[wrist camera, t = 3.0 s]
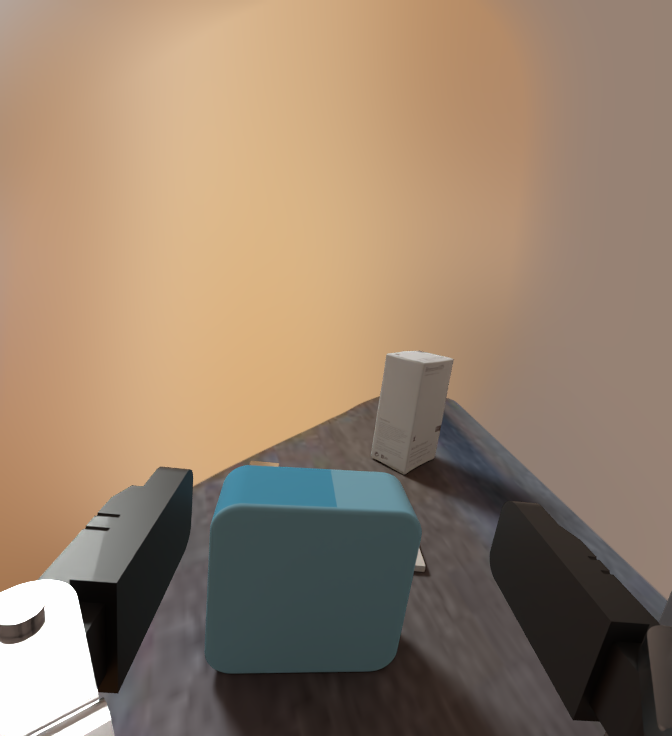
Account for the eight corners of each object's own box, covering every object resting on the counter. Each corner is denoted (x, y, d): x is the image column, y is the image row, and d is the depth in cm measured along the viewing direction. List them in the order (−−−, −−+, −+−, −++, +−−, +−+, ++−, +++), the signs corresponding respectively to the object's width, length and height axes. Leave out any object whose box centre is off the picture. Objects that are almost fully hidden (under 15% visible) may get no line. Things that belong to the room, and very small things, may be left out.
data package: (379, 612, 30) (405, 472, 26) (393, 673, 25) (427, 514, 22) (216, 611, 28) (224, 461, 25) (202, 676, 24) (210, 505, 20)
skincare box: (404, 476, 50) (425, 364, 46) (367, 457, 53) (384, 352, 49) (436, 457, 56) (457, 357, 52) (401, 441, 59) (418, 347, 56)
